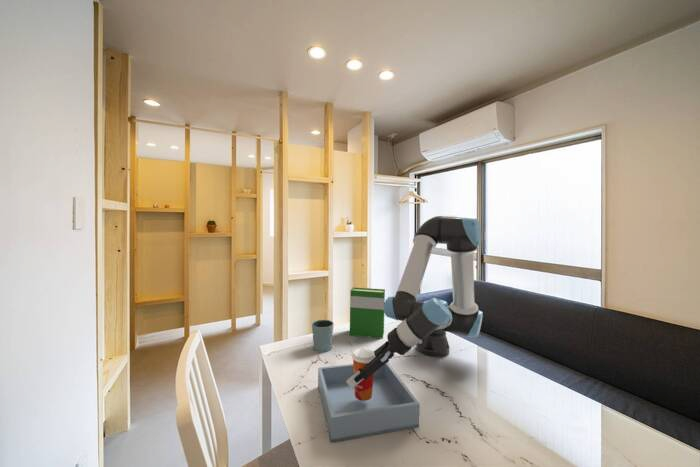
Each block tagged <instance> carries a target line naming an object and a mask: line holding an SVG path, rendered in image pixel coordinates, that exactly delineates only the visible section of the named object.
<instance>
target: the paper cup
mask: <svg viewBox="0 0 700 467" xmlns="http://www.w3.org/2000/svg"><path fill="white" fill-rule="evenodd" d="M373 351H374V350H372V349H370V348H356V349H355V350H354V351H353V353H352V357H351V358H352V362H353V363H352V364H353V367H354V374H355V373H357V372H358V371H359V370H358V369H359V368H360V369H363V368H364V367H365V366H366V365H367V364H368V363H369V362H370V361H371V360H373V359H374V358H375V357H376V356H375V353H374V352H373ZM373 378H374V373H373V374H372V375H371V376H370V377H369V378H367V380H362V381H361V382H360V383H358V384H357V385H356V386H355V387H354V390H355V397H356V398H357V399H358V400H361V401H367V400H369V399H371V397H372V390H373Z"/></svg>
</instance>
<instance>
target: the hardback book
mask: <svg viewBox="0 0 700 467" xmlns="http://www.w3.org/2000/svg"><path fill="white" fill-rule="evenodd" d="M385 292H386V289H384V288H370V287H368V288H366V287H352V288H351V289H350V298H349V299H350V300H349V303H350V304H349V336H354V337H363V338H372V339H373V338H374V339H375V338H376V339H384V333H385V313H384V304H385V301H386V299H385V298H386V297H385V296H386V295H385Z"/></svg>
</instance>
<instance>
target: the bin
mask: <svg viewBox="0 0 700 467" xmlns="http://www.w3.org/2000/svg"><path fill="white" fill-rule="evenodd" d="M317 373H318V374H317V388H318V392H319V396H320V401H321V405H322V410H323V414H324V417H325V423H326V427H327V432H328V437H329V441H330V444H334V443H335V444H336V443H341V442H345V441H350V440H356V439H357V440H358V439H363V438H367V437H373V436H378V435H384V434H389V433H395V432H401V431H406V430H412V429H417V428H420V412H421V411H420V410H421V407H420V406H421V404H420V402H419V401H418V399H417V398H416V397H415V396H414V395H413V393H412V392H411V391H410V389H409V388H408V387H407V385H406V384H405V382H403V380H402V378H401V377H400V376H399V375H398V373H397V372H396V371H395V369H393V367H392V366H391V365H390V363H389V362H387V363H386V364H384V365H383V366H382V367H380V368H379V369H378V370H377V371H376V372H375V373H374V378H373V390H372V397H371V399H369V400H367V401H361V400H358V399H357V398H356V397H355V390H354V387H353V388H352V389H351V388H350V386H349V385H348V384H347V382H346V381H347V380H348V379H349V378H350V377H352V376H353V375H354V367H353V363H350V364H349V363H348V364H339V365H331V366H329V365H328V366H321V367H320V366H319V367H318V369H317Z"/></svg>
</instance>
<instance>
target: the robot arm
mask: <svg viewBox="0 0 700 467" xmlns="http://www.w3.org/2000/svg"><path fill="white" fill-rule="evenodd" d="M482 235H483V234H482V228H481V224H480V221H479V219H478V218H477V217H476V216H474V215H473V216H471V215H437V216H433V217H431V218H429V219H428V220H426V221H425V222H424V223H422V224H421V226H420V227H419V228H418V229H417V231H416V232H415V233H414V236H413V239H412V243H413V246H412V248H411V252H410V254H409V257H408V260H407V263H406V265H405V267H404V271H403V273H402V277H401V279H400V282H399V285H398V287H397V290H396V292H395V295H394V296H388V297H387V298H386V299H385V304H384V316H386V317H387V318H389V319H391V320H395V321H400V323H399V324H398V325H396V327H394V328H393V329H392V330H391V331H389V332H388V333H387V336H386V337H387V340H386V341H385V343H383V344H382V345H381V346H379V347H378V348H376V349H375V350H372V351H373V352H374V353H375V356H376V357H375V358H374V359H373V360H371V361H370V362H369V363H368V364H367V365H366V366H365V367H364V368H363V369H360V368H359V369H358V370H359V371H358V372H357V373H355V374H354V375H353V376H352V377H350V378H349V379H348V380H347V381H346V382H347V384H348V385H349V386H350V388H351V389H352V388H353V387H355V386H356V385H357V384H358V383H360V382H361V381H362V380H367V378H369V377H370V376H371V375H372V374H373V373H375V372H376V371H377V370H378V369H379V368H380V367H382V366H383V365H384V364H386V363H387V362H388V363H389V361H390V359H392V358H393V357H394V356H395V353H397V354H398V355H400V356H404V355H406V354H407V353H408V352H409V351H411V350H412V348H414V347H415V346H416V350H417V351H418V352H420V353H421V354H423V355H426V356H429V357H435V358H442V357H446V356H448V355H449V354H450V344H449V342H448V337H447V332H448V333H451V334H456V335H459V336H460V335H461V336H465V337H466V338H468V337H469V338H478V336H479V334H480V331H481V326H482V322H483V316H484V315H483V314H484V313H483V311H481V310H479V305H478V304H477V303H476V302H475V277H474V276H475V274H474V269H475V268H474V266H475V265H474V253H475V251H477V250H478V247H479V246H480V245H481V244H482ZM438 244H439V245H440V244H443V245H446V250H447V251H449V252H450V261H451V263H450V264H451V284H452V302H451V303H450V304H449V305H448V302H447V301H446V300H443V299H439V298H436V297H431V298H430V299H429V300H425V301H423V302H422V301H417V298H418V295H419V293H420V289H421V287H422V282H423V279H424V277H425V273H426V270H427V267H428V264H429V260H430V258H431V254H432V251H433V250H435V249H436V247H437V245H438Z"/></svg>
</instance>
